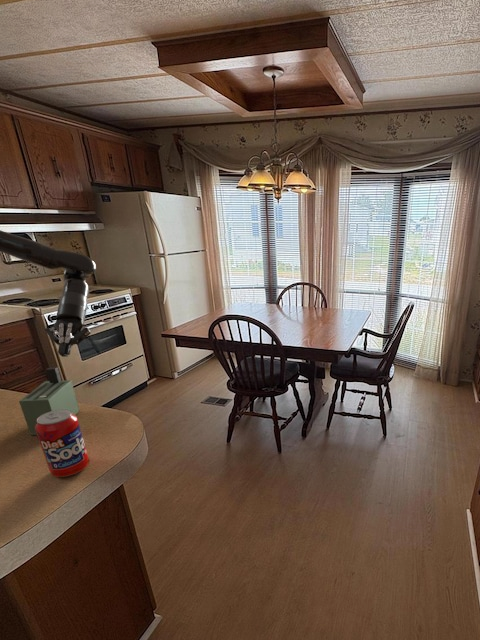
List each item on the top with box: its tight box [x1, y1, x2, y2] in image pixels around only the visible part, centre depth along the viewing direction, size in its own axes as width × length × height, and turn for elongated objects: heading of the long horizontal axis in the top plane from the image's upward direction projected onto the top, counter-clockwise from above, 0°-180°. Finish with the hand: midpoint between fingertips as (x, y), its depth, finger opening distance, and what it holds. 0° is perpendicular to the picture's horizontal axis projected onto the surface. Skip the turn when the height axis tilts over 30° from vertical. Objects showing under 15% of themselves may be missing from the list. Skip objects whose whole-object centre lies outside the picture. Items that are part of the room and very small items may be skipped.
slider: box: [45, 366, 62, 383], centre depth 102 cm, size 2×2×4 cm
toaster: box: [18, 379, 81, 436], centre depth 100 cm, size 13×7×11 cm, turn 11°
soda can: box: [35, 409, 90, 478], centre depth 81 cm, size 8×8×15 cm
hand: (63, 355), depth 107 cm, fingers closed
